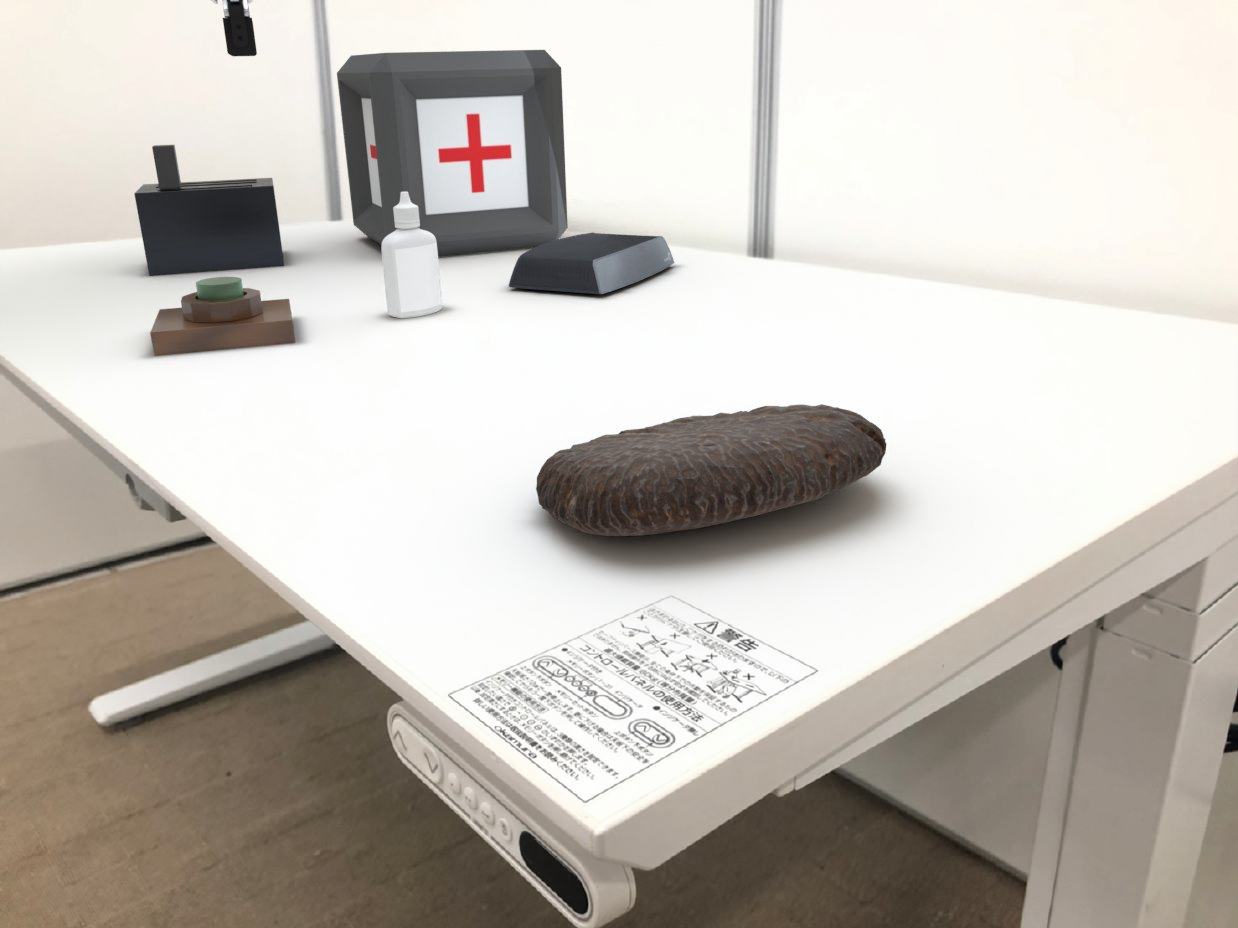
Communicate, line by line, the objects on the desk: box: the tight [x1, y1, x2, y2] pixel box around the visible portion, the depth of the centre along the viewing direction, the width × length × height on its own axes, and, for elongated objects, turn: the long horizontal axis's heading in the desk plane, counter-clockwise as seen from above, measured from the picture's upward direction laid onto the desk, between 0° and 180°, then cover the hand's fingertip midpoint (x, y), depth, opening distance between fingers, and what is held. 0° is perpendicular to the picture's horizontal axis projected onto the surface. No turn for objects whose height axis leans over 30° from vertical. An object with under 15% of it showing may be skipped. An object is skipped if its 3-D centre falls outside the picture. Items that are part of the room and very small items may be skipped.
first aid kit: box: [336, 49, 569, 257], centre depth 145 cm, size 25×25×25 cm
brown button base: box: [149, 287, 296, 357], centre depth 99 cm, size 12×10×4 cm
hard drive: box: [508, 232, 675, 295], centre depth 121 cm, size 13×19×4 cm
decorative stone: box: [535, 403, 887, 537], centre depth 59 cm, size 20×14×5 cm
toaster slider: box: [151, 144, 182, 189], centre depth 128 cm, size 2×2×5 cm
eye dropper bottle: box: [380, 192, 443, 319], centre depth 105 cm, size 4×6×12 cm
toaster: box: [133, 177, 285, 277], centre depth 135 cm, size 16×11×10 cm
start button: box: [195, 276, 244, 301], centre depth 98 cm, size 4×4×2 cm
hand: (243, 55), depth 127 cm, fingers open, 9 cm apart
